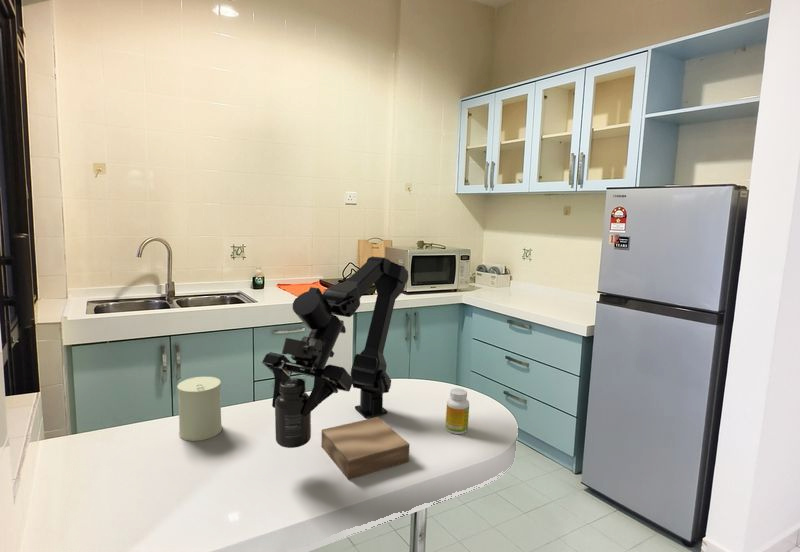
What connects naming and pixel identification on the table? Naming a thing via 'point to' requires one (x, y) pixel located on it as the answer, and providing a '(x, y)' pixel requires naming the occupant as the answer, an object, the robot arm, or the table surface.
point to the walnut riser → (364, 447)
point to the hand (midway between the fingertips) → (288, 411)
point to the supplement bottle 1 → (292, 414)
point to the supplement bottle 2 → (457, 411)
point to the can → (199, 408)
